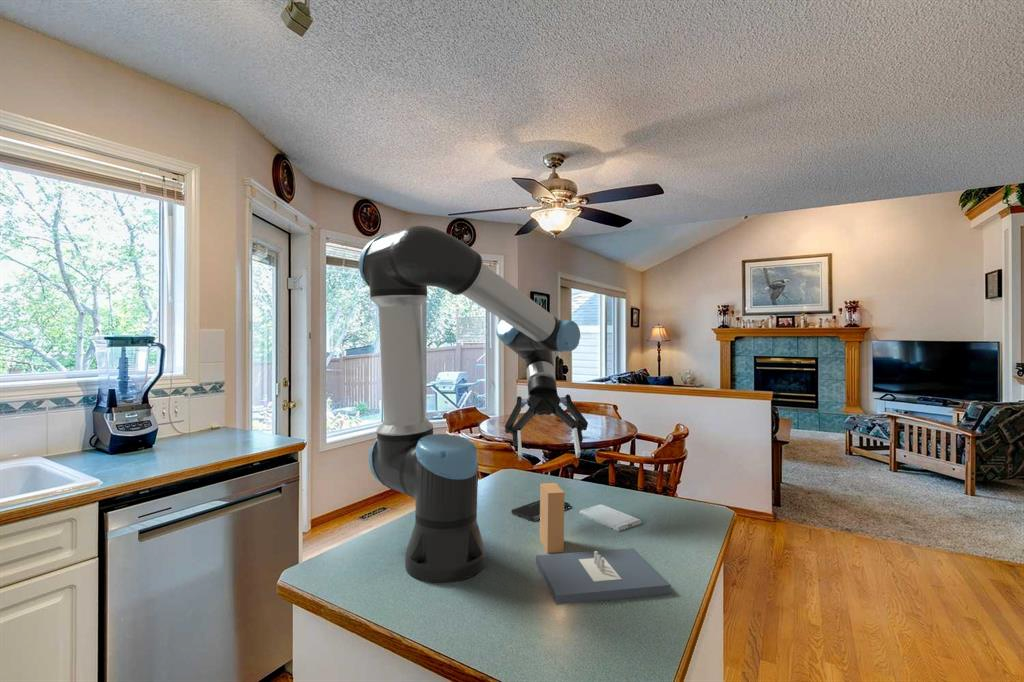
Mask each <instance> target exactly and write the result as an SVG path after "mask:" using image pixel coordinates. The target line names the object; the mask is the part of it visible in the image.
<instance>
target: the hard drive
mask: <svg viewBox="0 0 1024 682" xmlns="http://www.w3.org/2000/svg"><path fill="white" fill-rule="evenodd" d="M579 513H580V514H583V515H585V516H587V517H589V518H591V519H594V520H596V521H598V522H600V523H602V524H604V525H607V526H609V527H611V528H613V529H612V530H614V529H616V530H618V531H617V532H620V531H619V530H621V531H623V530H622V529H624V528H627V529H629V528H628V527H630V528H632V527H631V526H633V527H635V526H637V524H638V525H641V524H642V520H641V519H639V518H637V517H634V516H631V515H630V514H626V513H625V512H622V511H619V510H618V509H617V510H616V509H614V508H612V507H608V506H607V505H604V504H597V505H594V506H590V507H588V508H583V509H580V510H579V512H578V514H579ZM591 519H590V520H591ZM598 522H597V523H598ZM600 523H599V524H600ZM602 524H601V525H602ZM604 525H603V526H604ZM634 525H635V526H634ZM607 526H606V527H607ZM609 527H608V528H609ZM611 528H610V529H611ZM616 530H615V531H616ZM624 530H625V529H624Z"/></svg>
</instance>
